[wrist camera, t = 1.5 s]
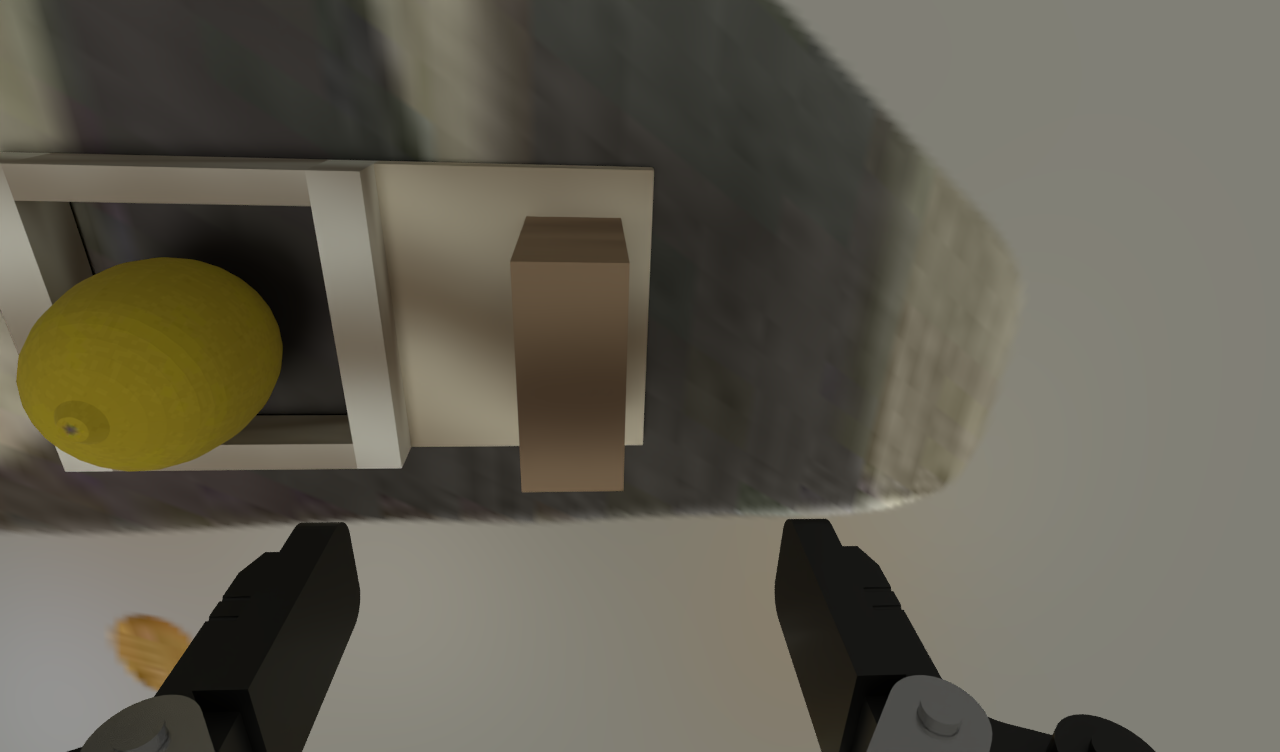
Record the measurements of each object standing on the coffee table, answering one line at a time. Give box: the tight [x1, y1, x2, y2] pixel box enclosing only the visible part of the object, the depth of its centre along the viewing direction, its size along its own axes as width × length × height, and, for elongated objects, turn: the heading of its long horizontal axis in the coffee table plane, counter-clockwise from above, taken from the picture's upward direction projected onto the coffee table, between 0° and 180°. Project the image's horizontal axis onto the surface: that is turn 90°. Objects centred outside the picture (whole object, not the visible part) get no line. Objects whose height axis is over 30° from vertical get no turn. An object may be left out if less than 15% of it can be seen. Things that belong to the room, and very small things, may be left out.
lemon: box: [16, 257, 283, 471], centre depth 19 cm, size 6×6×8 cm
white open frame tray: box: [0, 152, 654, 492], centre depth 21 cm, size 10×20×6 cm, turn 88°
